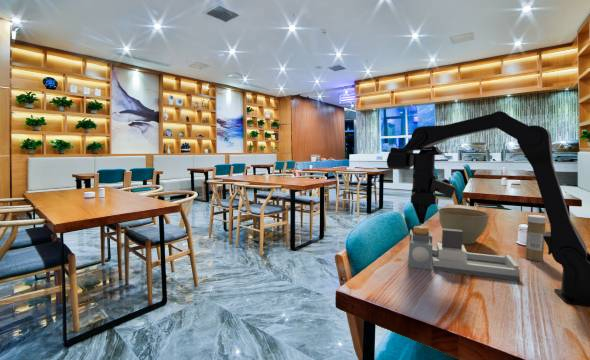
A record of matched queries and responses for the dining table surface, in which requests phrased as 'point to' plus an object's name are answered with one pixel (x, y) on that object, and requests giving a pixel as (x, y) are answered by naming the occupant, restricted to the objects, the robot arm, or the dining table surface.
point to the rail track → (480, 266)
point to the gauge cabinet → (420, 251)
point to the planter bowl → (464, 222)
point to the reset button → (421, 230)
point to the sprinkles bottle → (535, 237)
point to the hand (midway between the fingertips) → (421, 223)
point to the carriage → (451, 246)
